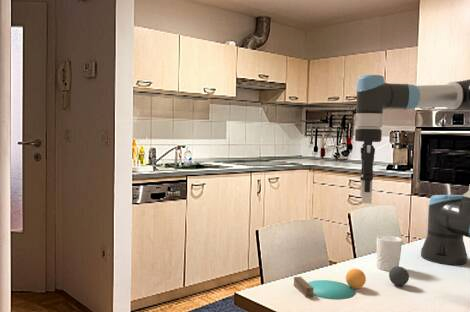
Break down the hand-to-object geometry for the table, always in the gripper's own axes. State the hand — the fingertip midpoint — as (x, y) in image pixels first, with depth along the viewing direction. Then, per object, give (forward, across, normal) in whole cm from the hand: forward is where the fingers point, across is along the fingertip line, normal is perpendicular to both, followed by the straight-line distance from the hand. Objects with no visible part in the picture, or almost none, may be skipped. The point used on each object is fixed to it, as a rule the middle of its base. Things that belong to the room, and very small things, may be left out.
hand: (365, 199), depth 136 cm
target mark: (+24, +12, -9) cm, 29 cm away
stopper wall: (+24, +16, -16) cm, 33 cm away
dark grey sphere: (+22, +2, +10) cm, 24 cm away
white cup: (+25, -14, +8) cm, 30 cm away
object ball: (+22, +8, -2) cm, 23 cm away
